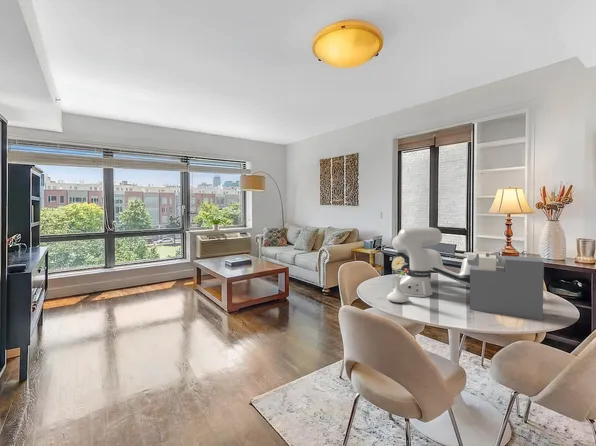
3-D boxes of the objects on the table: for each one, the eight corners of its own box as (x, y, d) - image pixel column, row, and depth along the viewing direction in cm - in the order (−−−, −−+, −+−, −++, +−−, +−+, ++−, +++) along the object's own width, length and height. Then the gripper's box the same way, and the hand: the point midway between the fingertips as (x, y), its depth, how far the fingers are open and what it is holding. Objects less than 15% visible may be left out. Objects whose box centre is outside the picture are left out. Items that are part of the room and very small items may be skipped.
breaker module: (479, 263, 160) (479, 249, 160) (494, 264, 157) (495, 250, 156) (478, 269, 144) (479, 254, 144) (496, 271, 141) (496, 255, 140)
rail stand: (470, 302, 156) (471, 253, 155) (538, 312, 141) (539, 258, 140) (469, 309, 146) (470, 257, 145) (542, 320, 131) (544, 262, 130)
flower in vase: (383, 298, 166) (383, 254, 165) (402, 297, 167) (403, 253, 166) (393, 305, 153) (393, 258, 152) (414, 304, 154) (414, 257, 153)
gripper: (508, 270, 168) (510, 262, 158) (467, 267, 180) (466, 259, 169) (508, 260, 171) (509, 251, 160) (467, 257, 182) (466, 249, 172)
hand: (487, 255), depth 165 cm, fingers open, 8 cm apart
